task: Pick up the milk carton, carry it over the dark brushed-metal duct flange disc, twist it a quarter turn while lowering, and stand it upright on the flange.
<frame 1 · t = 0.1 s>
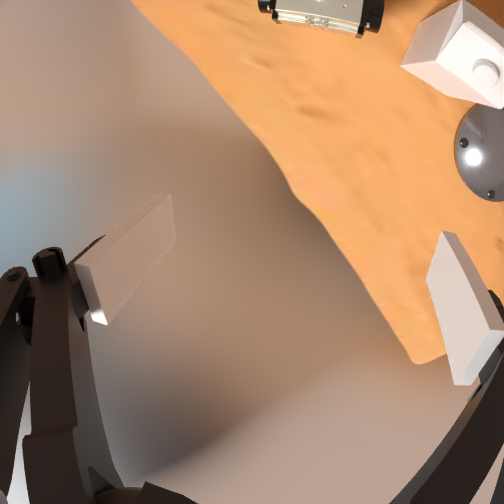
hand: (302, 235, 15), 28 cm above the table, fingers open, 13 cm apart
duct flange: (496, 150, 32), on the table
pneumatic valve: (323, 18, 30), on the table
milk carton: (433, 58, 29), on the table
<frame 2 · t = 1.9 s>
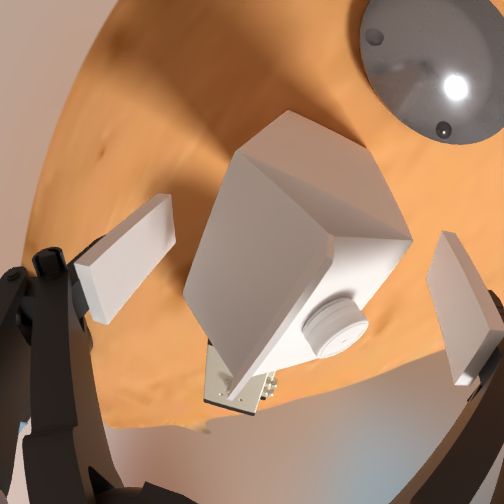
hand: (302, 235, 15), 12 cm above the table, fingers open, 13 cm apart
duct flange: (446, 56, 17), on the table
pneumatic valve: (265, 298, 33), on the table
milk carton: (310, 166, 25), on the table
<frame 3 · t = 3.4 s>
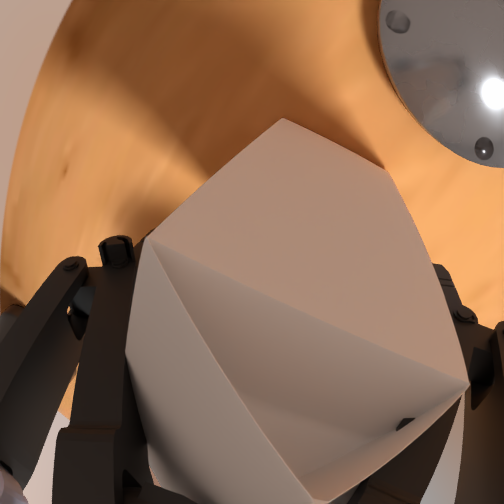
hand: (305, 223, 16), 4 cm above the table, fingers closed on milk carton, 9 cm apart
duct flange: (486, 52, 12), on the table
milk carton: (311, 191, 20), on the table, touching gripper
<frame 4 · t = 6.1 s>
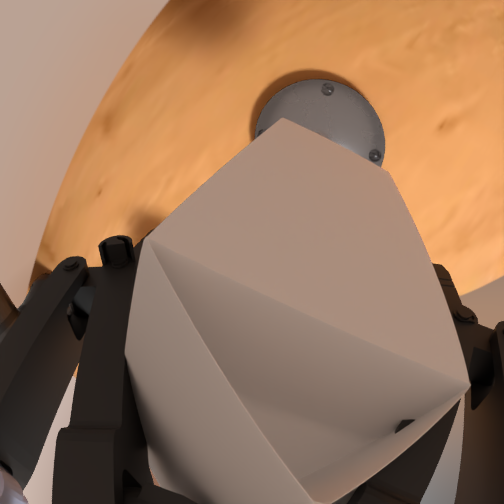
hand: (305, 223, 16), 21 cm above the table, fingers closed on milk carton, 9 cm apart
duct flange: (320, 141, 33), on the table
milk carton: (311, 191, 20), point 16 cm above the table, touching gripper
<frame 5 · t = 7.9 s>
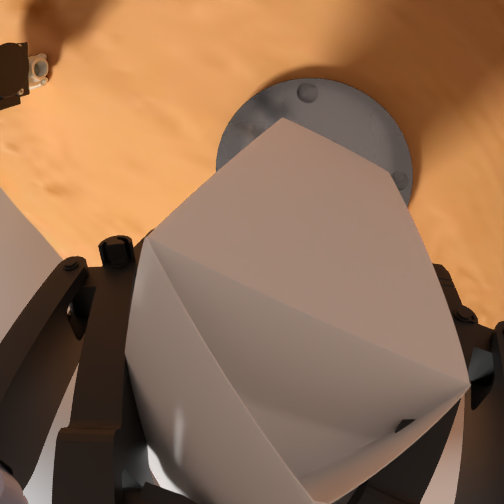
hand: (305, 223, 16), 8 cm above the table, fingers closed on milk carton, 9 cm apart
duct flange: (314, 174, 23), on the table
pneumatic valve: (38, 75, 23), on the table
milk carton: (311, 191, 20), point 3 cm above the table, touching gripper
when the fingers open (7 cm above the table, at t = 9.0 s): milk carton drops 1 cm, resting on duct flange.
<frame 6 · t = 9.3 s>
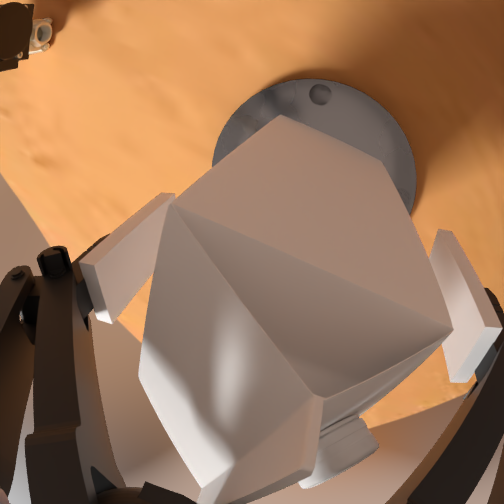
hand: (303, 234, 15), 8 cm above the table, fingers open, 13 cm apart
duct flange: (314, 179, 22), on the table
pneumatic valve: (40, 40, 20), on the table
milk carton: (310, 182, 21), point 1 cm above the table, touching duct flange
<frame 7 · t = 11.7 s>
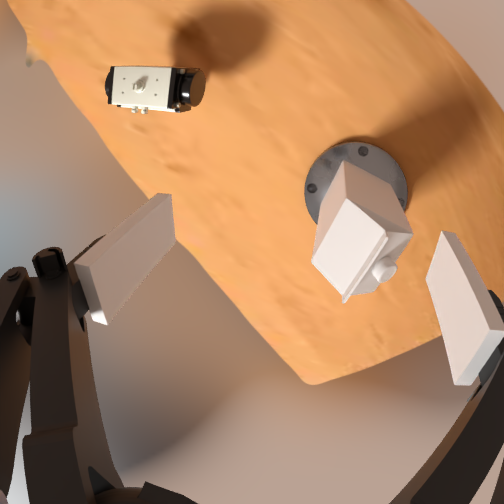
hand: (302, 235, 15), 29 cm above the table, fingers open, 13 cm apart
duct flange: (356, 192, 42), on the table
pneumatic valve: (182, 85, 40), on the table
milk carton: (355, 193, 41), point 1 cm above the table, touching duct flange
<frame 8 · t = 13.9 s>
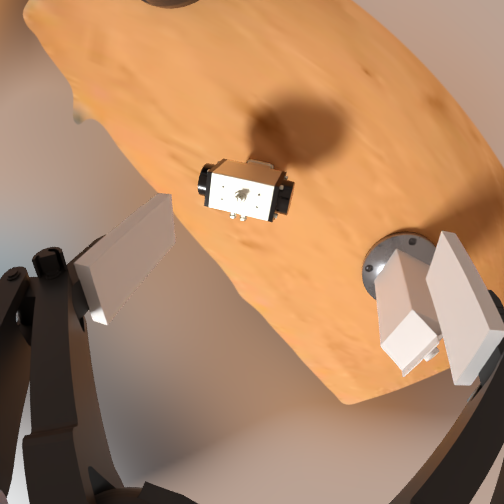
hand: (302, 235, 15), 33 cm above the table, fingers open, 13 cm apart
duct flange: (402, 269, 50), on the table
pneumatic valve: (259, 173, 48), on the table
milk carton: (401, 271, 49), point 1 cm above the table, touching duct flange
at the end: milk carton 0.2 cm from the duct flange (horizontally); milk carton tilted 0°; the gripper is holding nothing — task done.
